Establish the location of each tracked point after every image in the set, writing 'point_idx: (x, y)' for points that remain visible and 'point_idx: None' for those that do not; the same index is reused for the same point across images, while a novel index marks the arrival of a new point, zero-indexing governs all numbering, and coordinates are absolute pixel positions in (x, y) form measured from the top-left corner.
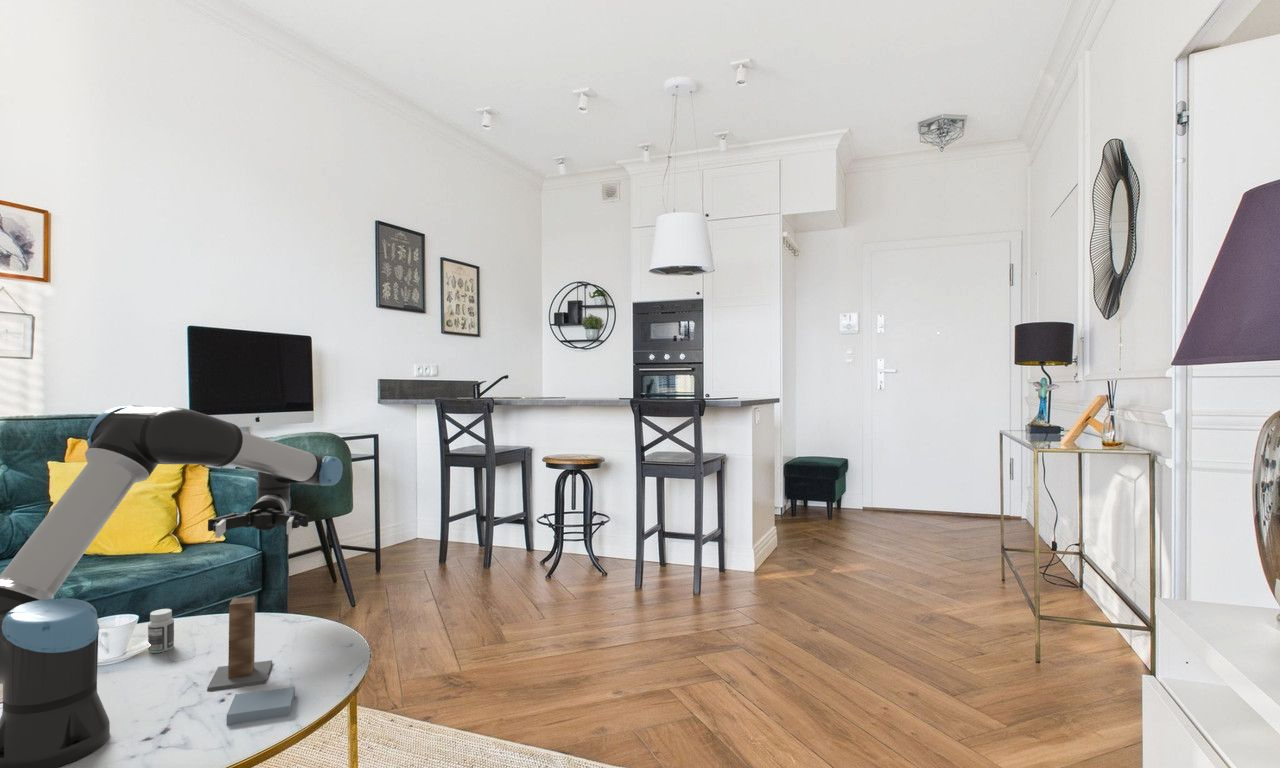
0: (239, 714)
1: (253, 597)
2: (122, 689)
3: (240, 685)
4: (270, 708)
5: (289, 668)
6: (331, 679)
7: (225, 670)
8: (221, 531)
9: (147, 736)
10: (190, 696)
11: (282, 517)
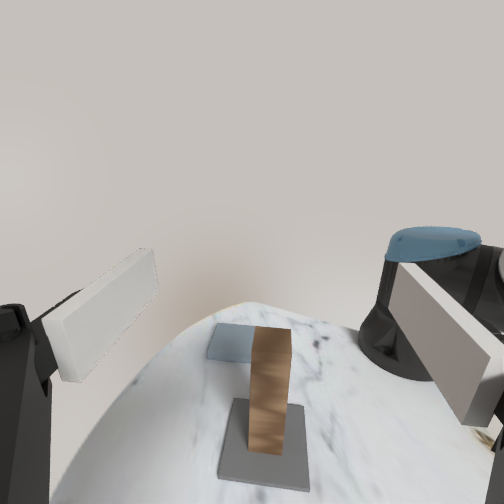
0: None
1: (254, 346)
2: (440, 472)
3: None
4: (233, 324)
5: (196, 438)
6: (160, 379)
7: (292, 462)
8: (407, 315)
9: (327, 341)
10: (319, 402)
11: (23, 466)
